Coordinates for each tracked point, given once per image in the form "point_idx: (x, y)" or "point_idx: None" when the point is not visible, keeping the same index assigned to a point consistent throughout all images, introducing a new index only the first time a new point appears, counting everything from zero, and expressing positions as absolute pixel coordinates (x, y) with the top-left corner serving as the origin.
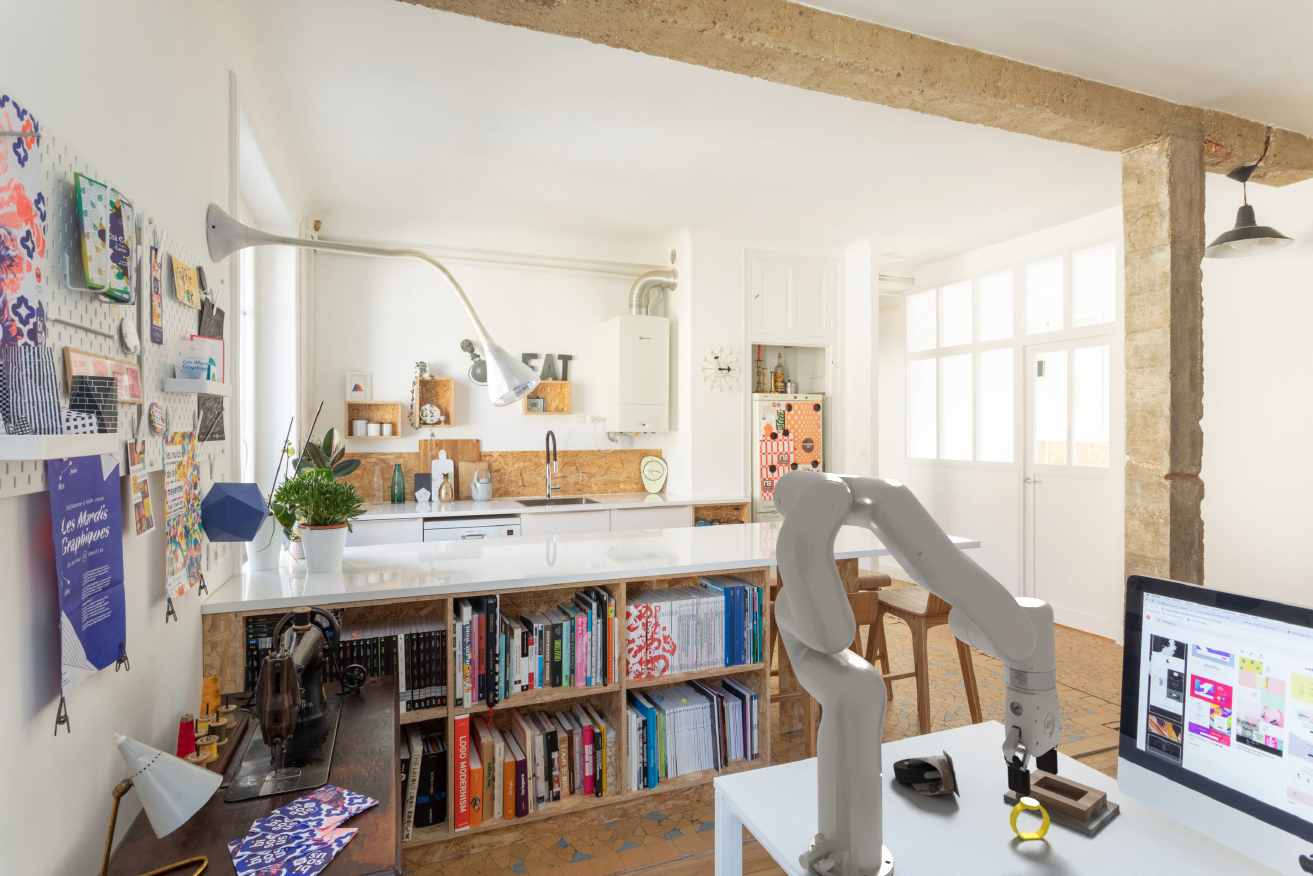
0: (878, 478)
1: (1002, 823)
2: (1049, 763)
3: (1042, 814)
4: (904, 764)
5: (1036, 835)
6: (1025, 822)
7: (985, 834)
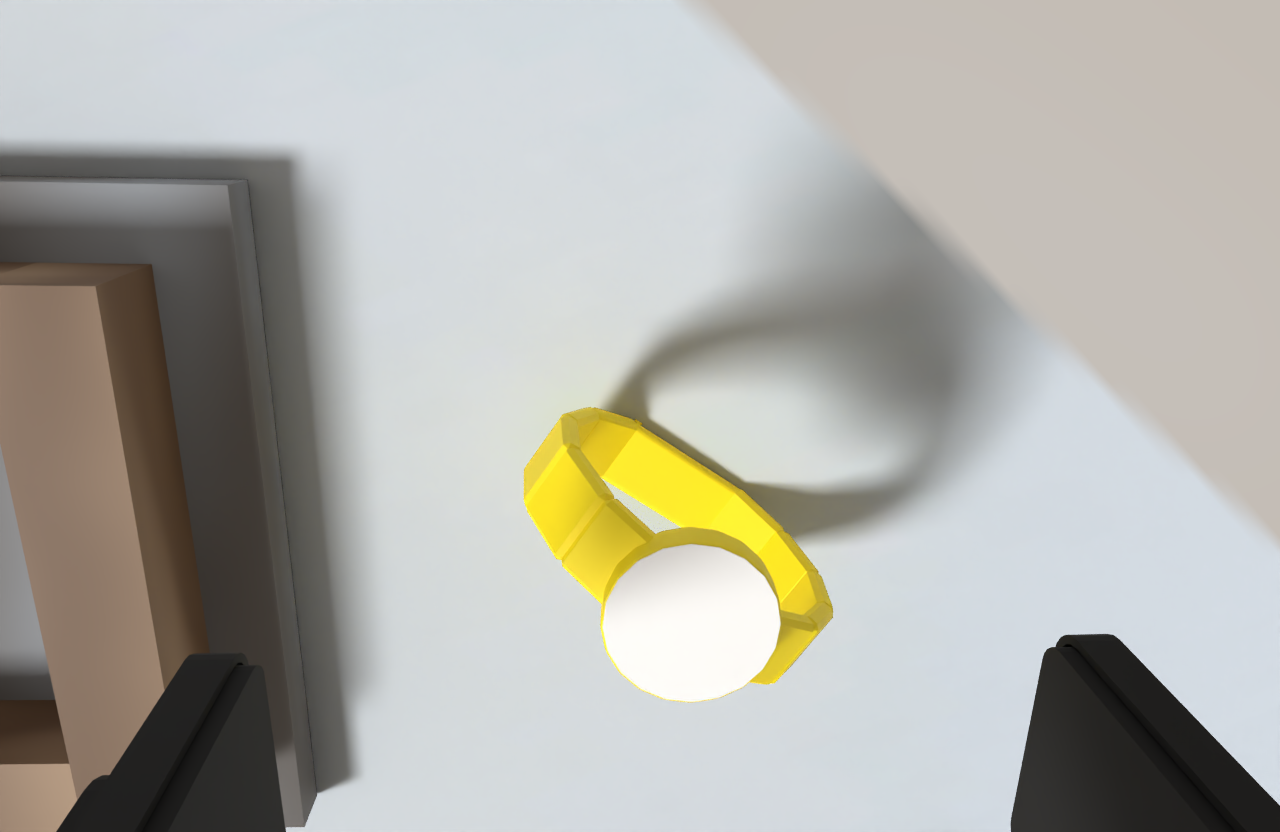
0: None
1: None
2: (218, 825)
3: (282, 549)
4: None
5: (630, 455)
6: (487, 581)
7: (868, 675)
